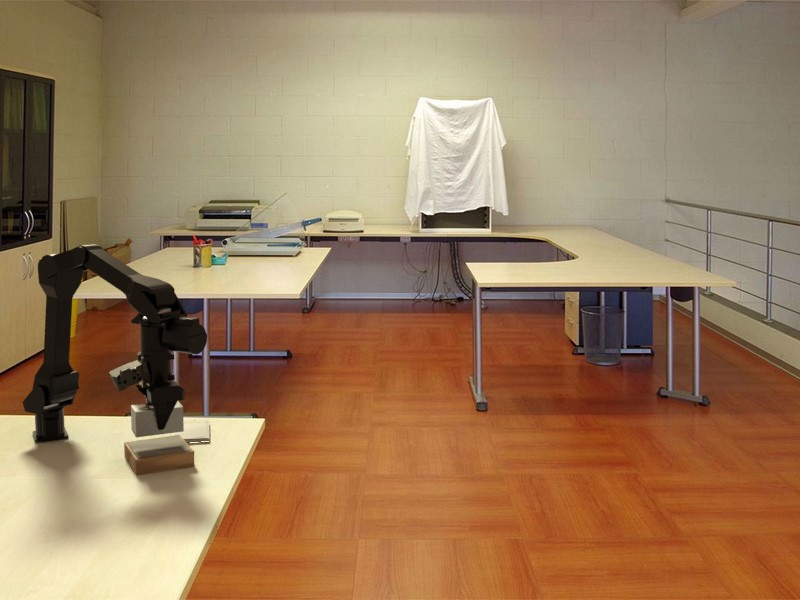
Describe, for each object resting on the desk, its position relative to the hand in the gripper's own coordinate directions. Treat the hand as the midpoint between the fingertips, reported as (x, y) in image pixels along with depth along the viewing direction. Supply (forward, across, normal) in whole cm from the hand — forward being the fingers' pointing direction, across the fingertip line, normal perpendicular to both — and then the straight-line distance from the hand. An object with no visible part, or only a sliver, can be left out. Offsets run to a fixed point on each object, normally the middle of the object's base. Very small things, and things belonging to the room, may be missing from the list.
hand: (157, 425), depth 157 cm
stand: (+7, 0, 0) cm, 7 cm away
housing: (+1, 0, 0) cm, 1 cm away
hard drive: (+8, -14, +10) cm, 19 cm away
